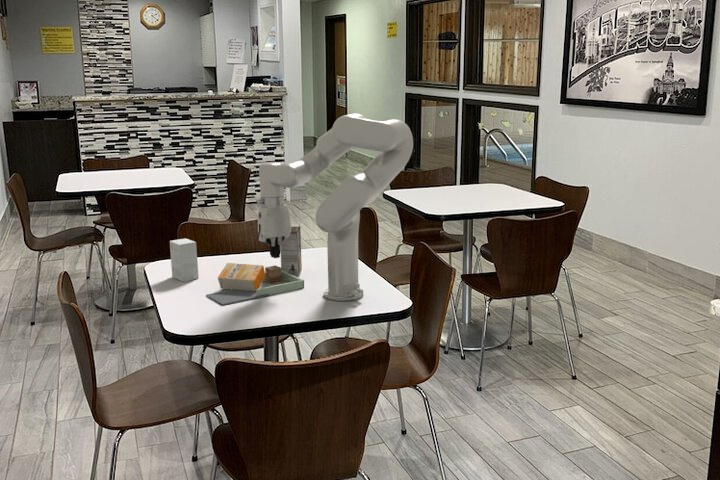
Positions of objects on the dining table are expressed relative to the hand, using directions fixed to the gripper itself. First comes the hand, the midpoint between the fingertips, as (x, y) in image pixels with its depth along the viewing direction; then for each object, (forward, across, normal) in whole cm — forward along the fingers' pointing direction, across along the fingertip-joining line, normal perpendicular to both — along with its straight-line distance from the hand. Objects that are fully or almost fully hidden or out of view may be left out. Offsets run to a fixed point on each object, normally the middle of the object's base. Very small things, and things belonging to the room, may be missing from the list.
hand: (275, 257), depth 232 cm
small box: (+10, -19, +30) cm, 37 cm away
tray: (+10, -1, +3) cm, 11 cm away
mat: (+10, -14, 0) cm, 18 cm away
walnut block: (+11, +3, +7) cm, 13 cm away
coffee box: (+11, +13, +12) cm, 21 cm away
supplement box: (+6, -5, +1) cm, 8 cm away
